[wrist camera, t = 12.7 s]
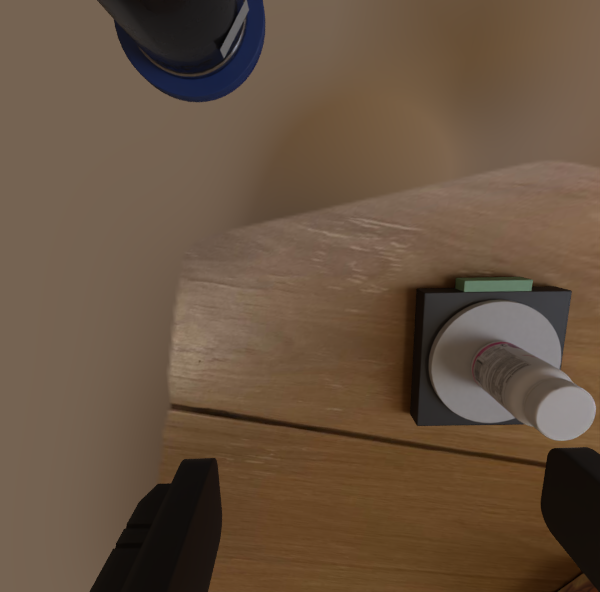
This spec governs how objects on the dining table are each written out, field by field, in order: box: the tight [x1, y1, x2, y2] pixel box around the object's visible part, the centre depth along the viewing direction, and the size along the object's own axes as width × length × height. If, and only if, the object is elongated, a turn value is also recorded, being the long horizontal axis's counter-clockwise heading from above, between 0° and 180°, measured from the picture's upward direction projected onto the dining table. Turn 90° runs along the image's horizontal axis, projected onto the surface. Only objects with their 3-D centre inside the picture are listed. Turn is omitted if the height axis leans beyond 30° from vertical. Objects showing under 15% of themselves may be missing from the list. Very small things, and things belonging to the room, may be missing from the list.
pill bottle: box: [471, 341, 596, 441], centre depth 27 cm, size 5×5×8 cm
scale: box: [410, 277, 572, 426], centre depth 33 cm, size 14×13×3 cm
